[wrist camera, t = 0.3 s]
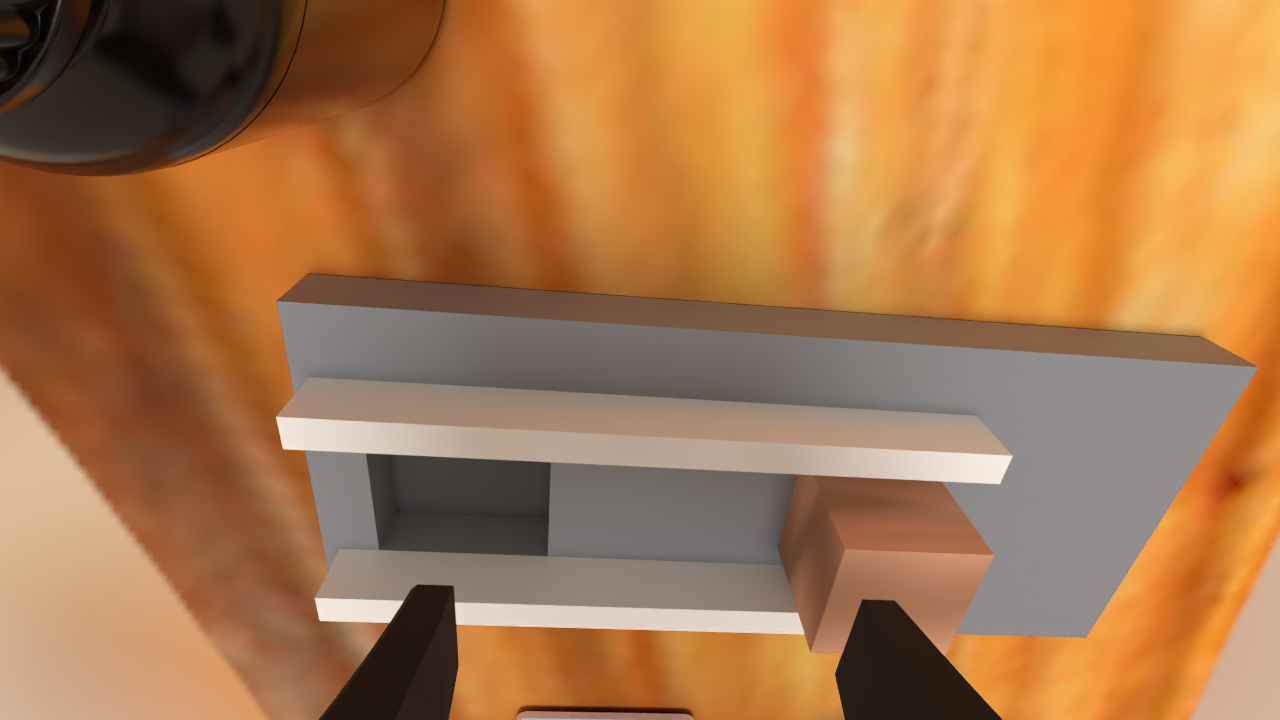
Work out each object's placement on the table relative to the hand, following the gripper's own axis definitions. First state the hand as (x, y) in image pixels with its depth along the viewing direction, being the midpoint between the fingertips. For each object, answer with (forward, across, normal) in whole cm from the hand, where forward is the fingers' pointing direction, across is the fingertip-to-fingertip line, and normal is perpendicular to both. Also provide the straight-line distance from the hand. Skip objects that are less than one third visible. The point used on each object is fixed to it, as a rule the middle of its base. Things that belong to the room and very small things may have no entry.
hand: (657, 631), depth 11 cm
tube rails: (+8, -1, +4) cm, 9 cm away
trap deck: (+10, -4, +4) cm, 12 cm away
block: (+8, -7, +4) cm, 12 cm away
